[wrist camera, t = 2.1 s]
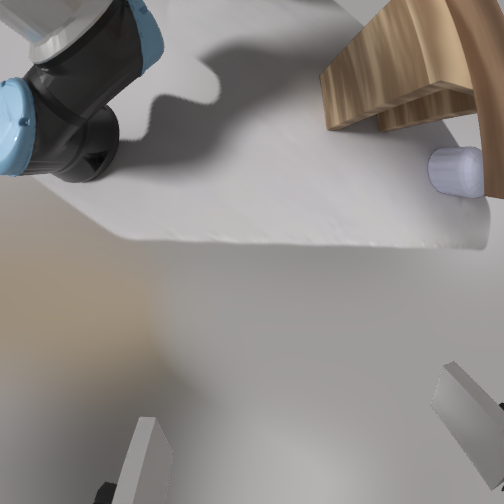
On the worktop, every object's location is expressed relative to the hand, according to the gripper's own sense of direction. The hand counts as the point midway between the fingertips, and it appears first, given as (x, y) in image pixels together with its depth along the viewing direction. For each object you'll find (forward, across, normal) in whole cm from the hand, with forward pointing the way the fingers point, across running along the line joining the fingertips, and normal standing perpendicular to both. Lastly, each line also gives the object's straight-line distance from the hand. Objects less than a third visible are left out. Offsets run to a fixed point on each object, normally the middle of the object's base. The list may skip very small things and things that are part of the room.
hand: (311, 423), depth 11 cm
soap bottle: (+39, +39, +10) cm, 56 cm away
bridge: (+39, +20, +22) cm, 49 cm away
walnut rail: (+9, +20, +21) cm, 30 cm away
